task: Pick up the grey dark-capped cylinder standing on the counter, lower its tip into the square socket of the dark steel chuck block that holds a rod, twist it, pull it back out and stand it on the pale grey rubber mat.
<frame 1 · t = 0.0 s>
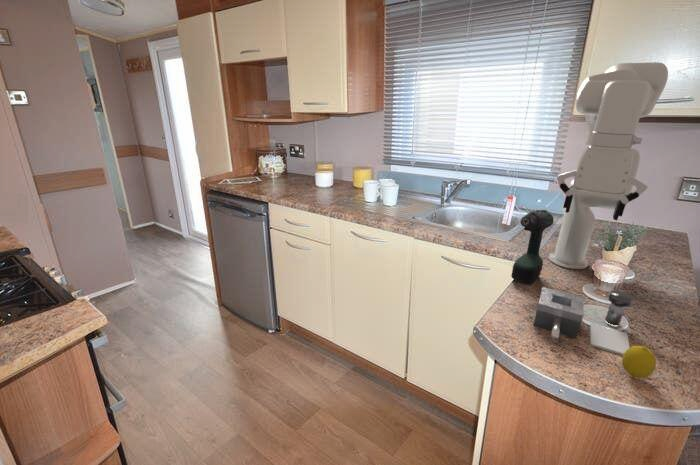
hand: (590, 214, 84), 31 cm above the worktop, tool pointing down, fingers open, 9 cm apart
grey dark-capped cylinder: (611, 323, 96), on the worktop
chuck block: (555, 322, 96), on the worktop
lemon: (632, 377, 78), on the worktop
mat: (608, 340, 89), on the worktop
power drill: (522, 280, 118), on the worktop
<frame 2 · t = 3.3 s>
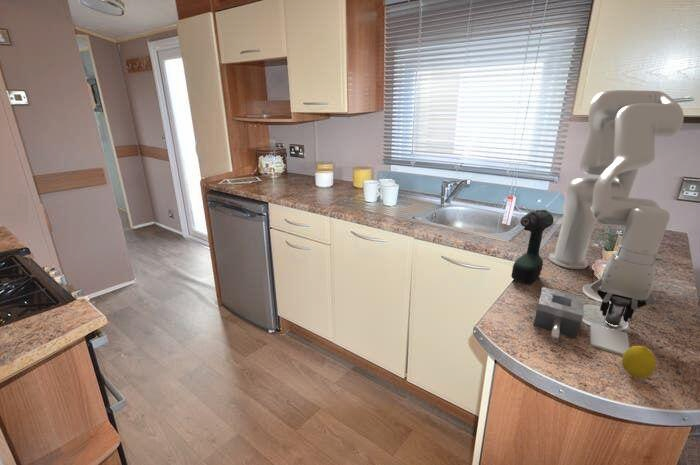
hand: (614, 315, 95), 2 cm above the worktop, tool pointing down, fingers closed on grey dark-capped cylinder, 4 cm apart
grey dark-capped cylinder: (611, 323, 96), on the worktop, touching gripper
everything else where it was.
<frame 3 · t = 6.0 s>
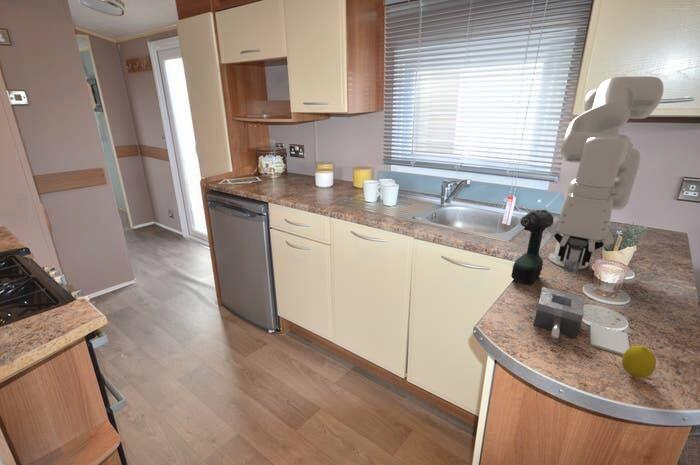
hand: (572, 260, 89), 19 cm above the worktop, tool pointing down, fingers closed on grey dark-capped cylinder, 4 cm apart
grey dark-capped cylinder: (570, 269, 90), point 16 cm above the worktop, touching gripper
everything else where it was.
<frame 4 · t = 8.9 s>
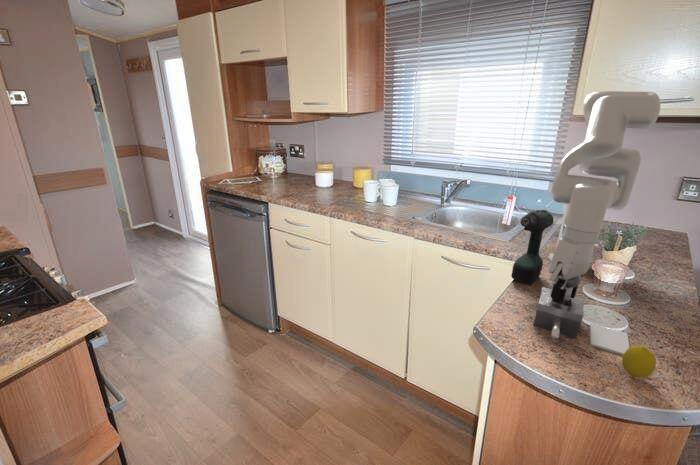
hand: (562, 297, 93), 8 cm above the worktop, tool pointing down, fingers closed on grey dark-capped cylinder, 4 cm apart
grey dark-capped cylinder: (560, 305, 94), point 5 cm above the worktop, touching gripper
everything else where it was.
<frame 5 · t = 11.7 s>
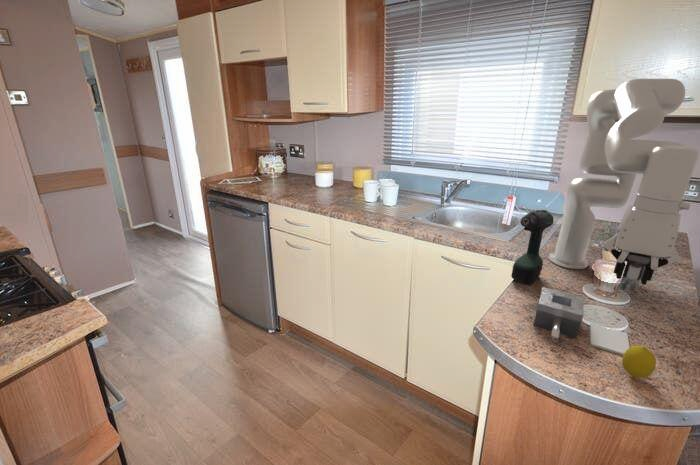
hand: (630, 278, 83), 18 cm above the worktop, tool pointing down, fingers closed on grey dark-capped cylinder, 4 cm apart
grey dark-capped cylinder: (627, 288, 84), point 15 cm above the worktop, touching gripper
everything else where it was.
when the fingers open (4 cm above the worktop, at t = 14.4 s): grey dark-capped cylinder stays where it is, resting on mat.
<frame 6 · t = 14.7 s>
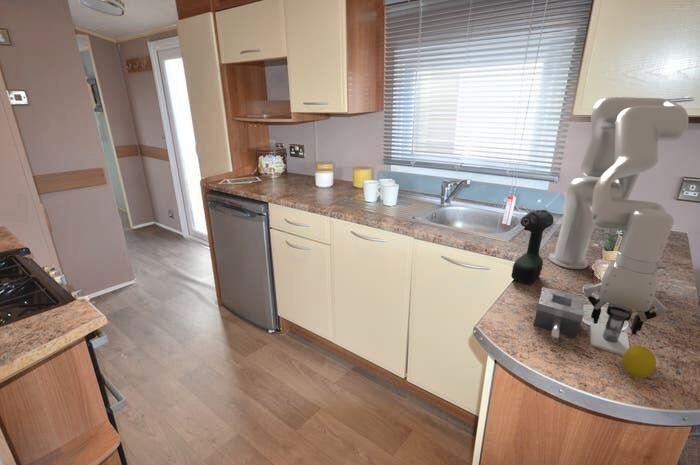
hand: (613, 325, 88), 4 cm above the worktop, tool pointing down, fingers open, 7 cm apart
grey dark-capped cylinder: (610, 338, 89), point 1 cm above the worktop, touching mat
everything else where it was.
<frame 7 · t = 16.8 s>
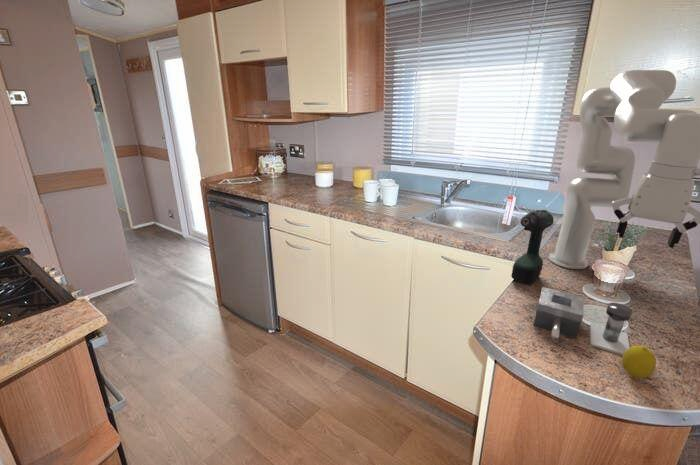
hand: (644, 240, 86), 25 cm above the worktop, tool pointing down, fingers open, 9 cm apart
nothing on the worktop moved.
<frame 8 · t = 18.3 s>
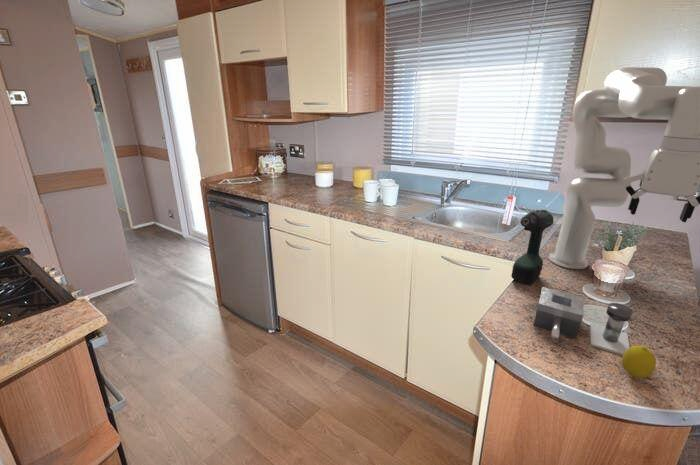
hand: (656, 216, 86), 30 cm above the worktop, tool pointing down, fingers open, 9 cm apart
nothing on the worktop moved.
at the end: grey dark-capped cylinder inside the target area on the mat (0.1 cm from its centre), point 0.6 cm above the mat's base; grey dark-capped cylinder tilted 1°; the gripper is holding nothing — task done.
